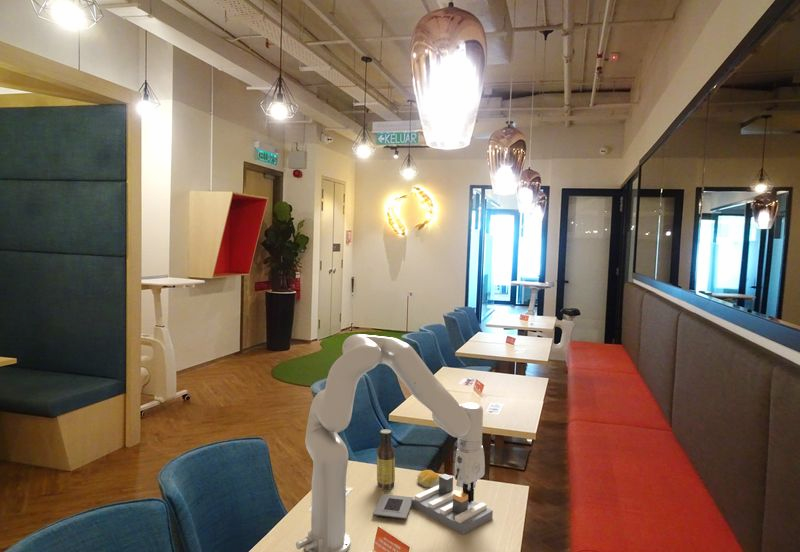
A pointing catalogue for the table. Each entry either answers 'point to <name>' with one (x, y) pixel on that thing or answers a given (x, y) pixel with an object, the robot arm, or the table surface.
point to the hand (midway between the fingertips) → (468, 500)
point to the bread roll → (428, 478)
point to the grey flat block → (393, 506)
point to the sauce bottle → (385, 461)
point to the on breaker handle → (445, 484)
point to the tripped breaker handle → (460, 502)
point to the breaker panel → (451, 510)
